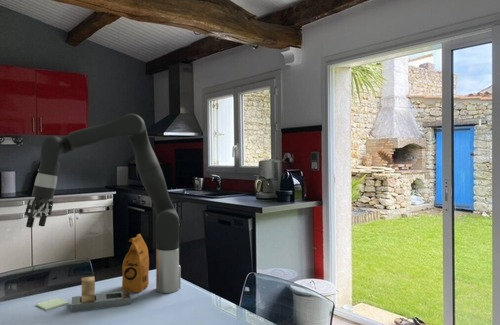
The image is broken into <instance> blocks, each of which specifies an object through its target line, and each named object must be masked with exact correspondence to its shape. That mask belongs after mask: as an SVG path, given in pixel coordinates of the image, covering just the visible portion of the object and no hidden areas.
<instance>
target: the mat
mask: <svg viewBox="0 0 500 325" xmlns="http://www.w3.org/2000/svg"><path fill="white" fill-rule="evenodd" d="M66 305H69V302H68V301H66V300H63V299H61V298H60V297H56V298H51V299H49V300H45V301H42V302H39V303H35V306H36V307H37V308H40V309H42V310H45V311H50V310H54V309H56V308H60V307H63V306H66Z"/></svg>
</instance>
